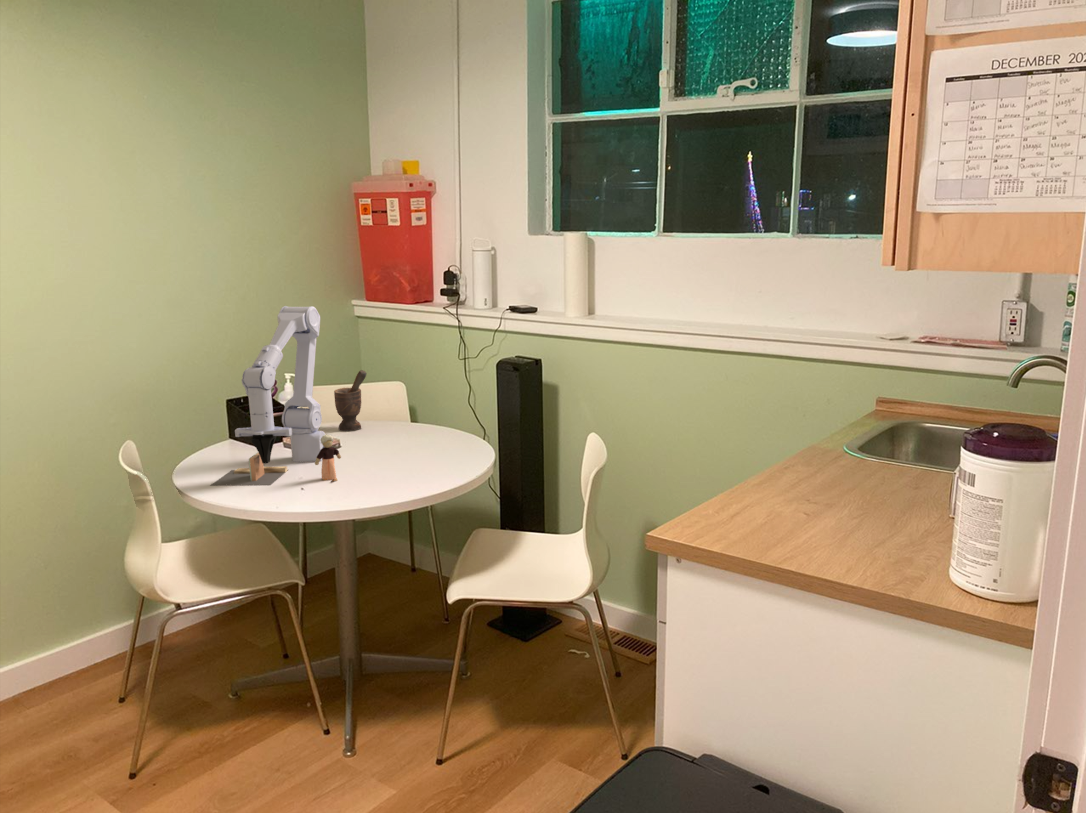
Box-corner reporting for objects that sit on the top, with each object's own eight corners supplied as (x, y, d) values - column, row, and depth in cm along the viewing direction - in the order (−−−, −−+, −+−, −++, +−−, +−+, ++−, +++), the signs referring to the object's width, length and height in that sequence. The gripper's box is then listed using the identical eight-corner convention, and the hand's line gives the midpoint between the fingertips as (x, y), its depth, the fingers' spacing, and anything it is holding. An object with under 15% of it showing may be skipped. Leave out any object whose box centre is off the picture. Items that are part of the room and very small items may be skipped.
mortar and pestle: (375, 425, 289) (371, 366, 285) (368, 432, 281) (364, 371, 277) (341, 426, 290) (337, 367, 286) (333, 432, 282) (328, 371, 277)
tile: (264, 474, 234) (262, 452, 233) (256, 480, 228) (253, 458, 227) (259, 474, 234) (257, 452, 233) (250, 480, 228) (248, 458, 227)
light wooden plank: (288, 469, 238) (288, 465, 237) (284, 473, 235) (284, 468, 234) (238, 470, 238) (237, 466, 238) (234, 473, 235) (233, 469, 235)
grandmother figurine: (325, 485, 225) (321, 438, 222) (314, 483, 227) (310, 436, 224) (346, 478, 232) (342, 431, 229) (335, 476, 234) (332, 430, 231)
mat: (289, 472, 238) (288, 469, 238) (270, 488, 224) (270, 485, 224) (232, 472, 239) (231, 470, 239) (210, 488, 225) (209, 485, 225)
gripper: (228, 416, 224) (233, 466, 227) (283, 415, 223) (288, 466, 226) (239, 410, 231) (244, 459, 234) (292, 409, 230) (297, 458, 233)
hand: (266, 462), depth 230 cm, fingers closed
